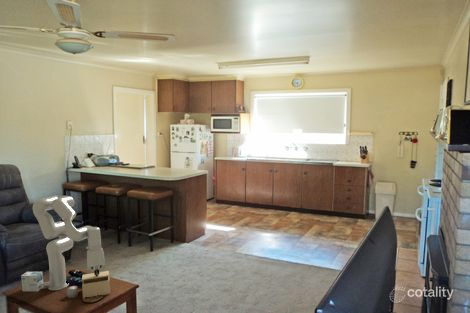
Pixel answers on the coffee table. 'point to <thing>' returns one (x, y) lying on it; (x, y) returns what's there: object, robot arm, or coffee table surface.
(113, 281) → the coffee table surface
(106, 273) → the carton flap
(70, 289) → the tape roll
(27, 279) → the light bulb box
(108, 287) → the carton
